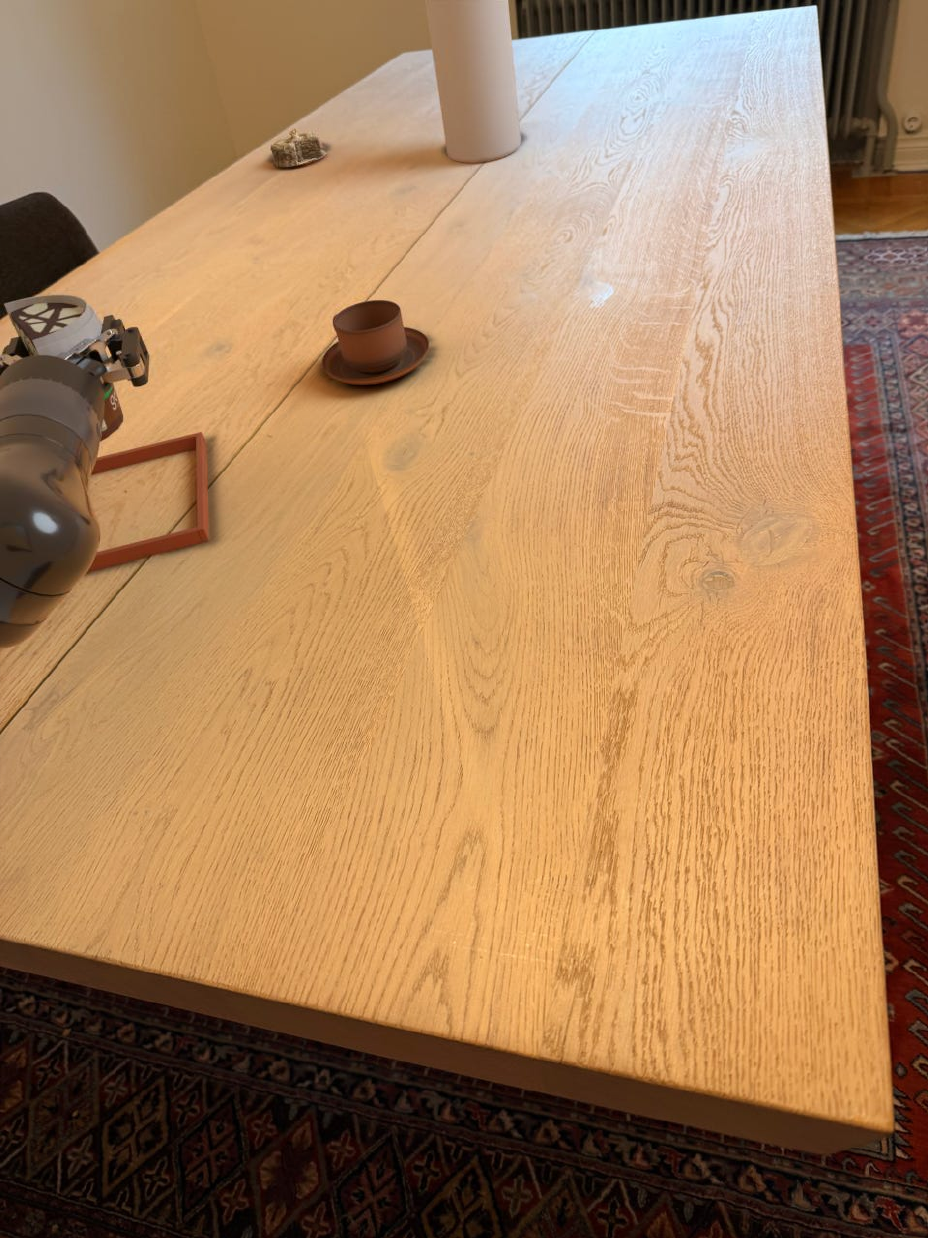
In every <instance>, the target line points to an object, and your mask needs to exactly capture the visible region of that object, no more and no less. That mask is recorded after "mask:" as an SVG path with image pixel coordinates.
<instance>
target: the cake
mask: <svg viewBox="0 0 928 1238" xmlns="http://www.w3.org/2000/svg"><path fill="white" fill-rule="evenodd" d="M270 151H271V154H272V155H273V163H272V166H274V167H277V168H291V167H295V166H301V165H302V166H303V165H305V164H309V163H313V162H314V161H317V160H320V159H321V158H323V157H325V156H327V153H328V152H327V151H325V150H324V149H323V145H322V140H321V138H320V137H319V134H317V133H316V132H313V131H311V132H310V131H308V132H307V131H304V132H297V129H296V128H293V129H292V130H290V131H289V135H288V136H286V137H282V138H279V139H277V140H275V141H274V143H273V144H271V145H270ZM312 158H317V159H315V160H313V161H310V162H306V163H303V164H299V163H298V162H301V161H303V160H305V159H312Z"/></svg>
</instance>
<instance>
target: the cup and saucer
mask: <svg viewBox="0 0 928 1238" xmlns="http://www.w3.org/2000/svg"><path fill="white" fill-rule="evenodd" d="M401 309H402V308H401V306H400V305H399V304H398V303H396V302H394V301H391V300H384V299H374V300H373V299H372V300H366V301H361V302H357V303H355V304H352V305H350V306H347V307H345V308H344V309H342V310H341V311H339V312H338V313H336V314H334V316H333V317H332V326H333V330H334V331H335V333H336V337H337V340H338V341H336V342H335V343H333V344H332V345H331V346H330V347H328V349H327V350H326V351H325V353H324V354H323V356H322V359H321V364H322V368H323V370H324V371H325V373H326V374H327V375H328V376H329V377H330V378H332V379H333V380H336V381H338V382H341V383H344V384H347V385H354V386H355V385H357V386H366V385H367V386H368V385H378V384H382V383H386V382H390V381H394V380H396V379H398V378H401V377H403V376H405V375H408V374H410V372H412V371H413V370H415V369H416V368H417V367H419V365H421V364H422V363H423V361H424V360H425V358H426V357H427V355H428V353H429V350H430V349H429V348H430V341H429V339H428V337H427V336H426V335H425V334H424V332H422V331H420V330H418V329H415V328H412V327H409V326H408V327H407V326H404V320H403V315H402V310H401Z"/></svg>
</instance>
